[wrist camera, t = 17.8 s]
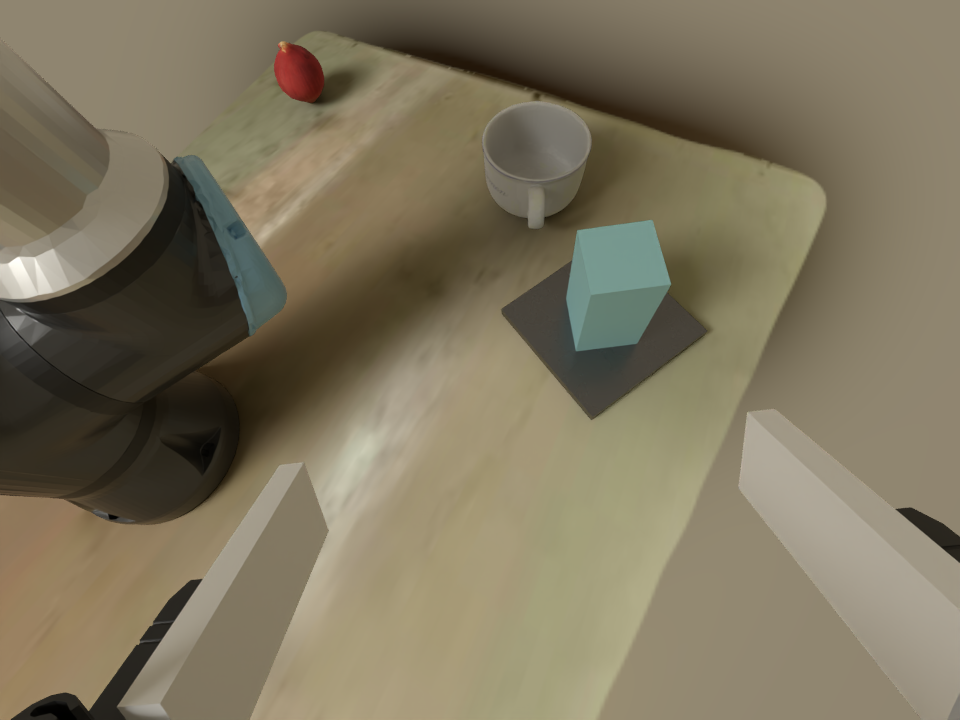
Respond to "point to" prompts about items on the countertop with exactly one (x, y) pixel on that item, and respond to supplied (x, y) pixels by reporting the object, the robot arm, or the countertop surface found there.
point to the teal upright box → (615, 284)
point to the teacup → (535, 159)
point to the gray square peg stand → (602, 370)
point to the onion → (298, 72)
